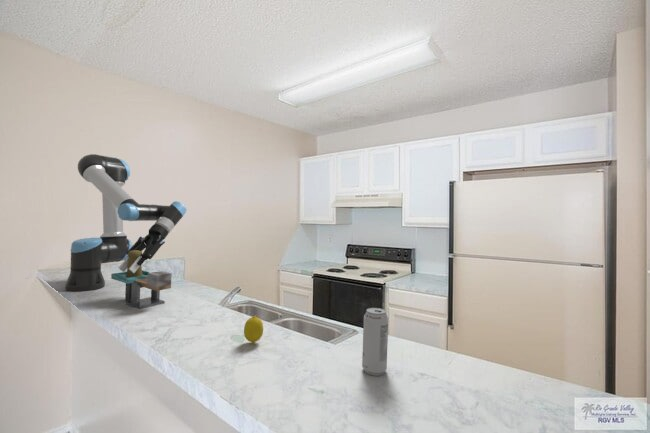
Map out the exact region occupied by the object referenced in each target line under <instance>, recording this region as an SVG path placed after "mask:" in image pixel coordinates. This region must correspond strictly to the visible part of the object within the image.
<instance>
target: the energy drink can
mask: <svg viewBox="0 0 650 433" xmlns="http://www.w3.org/2000/svg"><path fill="white" fill-rule="evenodd" d="M365 311H366V312H365V314H364V315H363V328H362V329H363V330H362V332H363V333H362V357H361V358H362V361H361V362H362V363H361V366H362V369H364V372H365V373H366V374H368V375H370V376H374V377H377V376H378V377H379V376H380V377H381V376H383V375H384V374H385V372H386V371H387V369H388V367H387V366H388V342H389V341H388V340H389V338H388V337H389V336H388V335H389V317H388V315H387V310H385V309H384V308H379V307H368V308H367V309H366V310H365Z"/></svg>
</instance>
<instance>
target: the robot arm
mask: <svg viewBox="0 0 650 433" xmlns="http://www.w3.org/2000/svg"><path fill="white" fill-rule="evenodd" d="M77 171H78V173H79V175H80V176H81V177H82V178H83V179H84V181H85V182H89V183H91V185H93V186H94V187H95V189H97V190H99V192H100V193H101V194H102V197H101V198H102V225H103V226H102V227H103V231H102V232H103V233H102V234H101V235H100V236H99V237H86V238H85V237H84V238H80V239H76V240H73V242H72V243H71V245H70V273H69V275H68V277H67V280H66V282H65V285H64V286H65V287H64V290H65V291H67V292H68V291H69V292H82V291H84V292H85V291H93V290H94V291H95V290H98V289H102V288H104V287H105V284H106V281H105V278H104V276H103V273H102V265H103V264H108V263H119V262H122V263H121V264H120V265H119V266H118V269H119V270H120V271H121V272H126V271H127V268H128V263H129V257H128V253H129V251H132V250H139V251H141V252H142V254H141V256H142V257H141V256H139V257H138V258H137V260H136V261H135V262H134V263H133V264H132V266H131V267H130V268H129V270H130V271H131V272H132V273H135V272H136V270H137V269H138V268H139V267H140V266H142V265H143V263H144V262H145V261H147V260H152V258H153V257H154V256H155V255H156V253H157V252H158V251H159V249H160V248H161V247H162V246H163V245H164V244H165V243H166V241H165V239H166V238H167V236H168V235H169V234H170V233H171V232H172V230H174V228H175V226H177V224H178V223H179V222H180V220H182V218H183V217H184V216H185V214H186V213H187V207H186V206H185V205H184V204H183V203H182V202H180V201H173V202H172V203H170V205H160V204H145V203H143V204H141V203H138V202H137V200H135V199H134V198H133V197H132V195H131V194H130V195H129V193H127V191H126V190H124V189H123V186H125V185H126V181H128V180H129V177H131V169H130V166H129V164H128V163H127V162H126V161H125V160H123V159H120V158H117V157H113V156H107V155H100V154H93V153H91V154H87V155H85V156H83V157H81V158H80V160H79V161H78V162H77ZM124 221H128V222H134V221H135V222H137V221H138V222H140V221H141V222H142V221H143V222H144V221H145V222H148V221H150V222H151V221H152V222H153V221H155V222H154V224H152V226H151V227H150V228H149V229H148V234H146V235H145V237H142V236H139V237H138V239H137V241H136V242H135V243H132V242H131V240H130V239H128V236H127V234H126V233H125V232H124ZM143 250H144V251H143Z"/></svg>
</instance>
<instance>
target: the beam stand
mask: <svg viewBox="0 0 650 433" xmlns="http://www.w3.org/2000/svg"><path fill="white" fill-rule="evenodd" d="M160 291H161V290H159V291H154V290H151V289H150V296H149V297H144V298H141V288H140V284H139V283H125V293H124V295H125V296H124V300H125V301H126V302H125V305H126V306H130V307H133V308H135V309H138V310H142V309H145V308H151V307H155V306H159V305H163V304H165V303H166V302H165V300H163V299H160V296H161V295H160Z"/></svg>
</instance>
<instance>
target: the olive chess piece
mask: <svg viewBox="0 0 650 433" xmlns="http://www.w3.org/2000/svg"><path fill="white" fill-rule="evenodd" d="M141 254H143V251H139V250H132V251H129V253H128V257H129V263H128V268H127V269H126V272H127V273H126V278H132V277H138V276H143V275H142V270H143V269H142V268H143V267H142V265H141V266H140V267H139V268H138V269H137V270H136V272H135V273H132V272H131V271H130V270H129V268H130V267H131V266H132V264H133V263H134V262H135V261H136V260H137V258H138V257H139V256H141ZM141 257H142V256H141Z"/></svg>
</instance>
